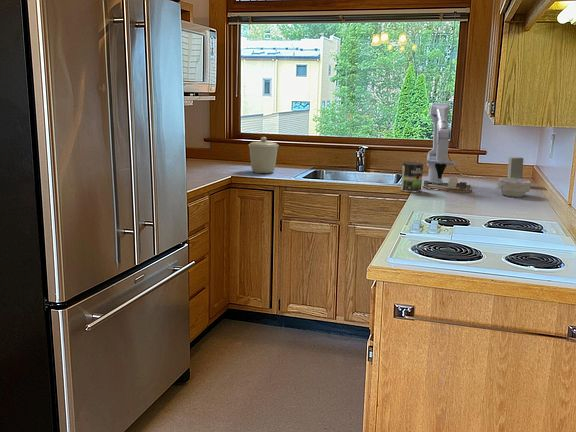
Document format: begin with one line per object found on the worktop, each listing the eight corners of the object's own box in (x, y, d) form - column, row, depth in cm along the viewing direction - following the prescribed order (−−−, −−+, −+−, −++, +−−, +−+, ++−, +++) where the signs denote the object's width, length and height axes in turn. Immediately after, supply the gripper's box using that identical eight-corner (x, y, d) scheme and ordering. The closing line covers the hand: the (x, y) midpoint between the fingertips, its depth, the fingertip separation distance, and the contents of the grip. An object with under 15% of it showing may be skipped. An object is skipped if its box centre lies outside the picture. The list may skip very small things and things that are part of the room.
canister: (265, 169, 340) (266, 135, 335) (284, 173, 327) (285, 137, 322) (241, 171, 329) (242, 136, 324) (260, 175, 315) (260, 138, 311)
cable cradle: (425, 185, 297) (426, 177, 296) (471, 190, 286) (472, 181, 285) (421, 188, 288) (421, 179, 287) (468, 193, 278) (469, 184, 277)
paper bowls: (532, 195, 279) (534, 179, 277) (525, 199, 266) (527, 183, 264) (500, 191, 287) (502, 176, 285) (493, 195, 275) (495, 179, 273)
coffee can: (425, 192, 279) (427, 164, 276) (408, 192, 275) (410, 164, 272) (413, 188, 289) (415, 161, 285) (396, 189, 285) (398, 162, 282)
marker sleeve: (449, 187, 288) (450, 176, 287) (457, 187, 286) (458, 176, 285) (448, 188, 285) (449, 176, 284) (455, 188, 283) (456, 177, 282)
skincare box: (521, 187, 301) (525, 158, 297) (508, 186, 302) (511, 157, 299) (518, 184, 309) (522, 156, 305) (505, 183, 310) (508, 155, 307)
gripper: (426, 152, 285) (423, 177, 288) (454, 154, 278) (452, 180, 281) (429, 150, 291) (427, 176, 294) (457, 152, 284) (455, 178, 287)
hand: (439, 178), depth 288 cm, fingers closed
